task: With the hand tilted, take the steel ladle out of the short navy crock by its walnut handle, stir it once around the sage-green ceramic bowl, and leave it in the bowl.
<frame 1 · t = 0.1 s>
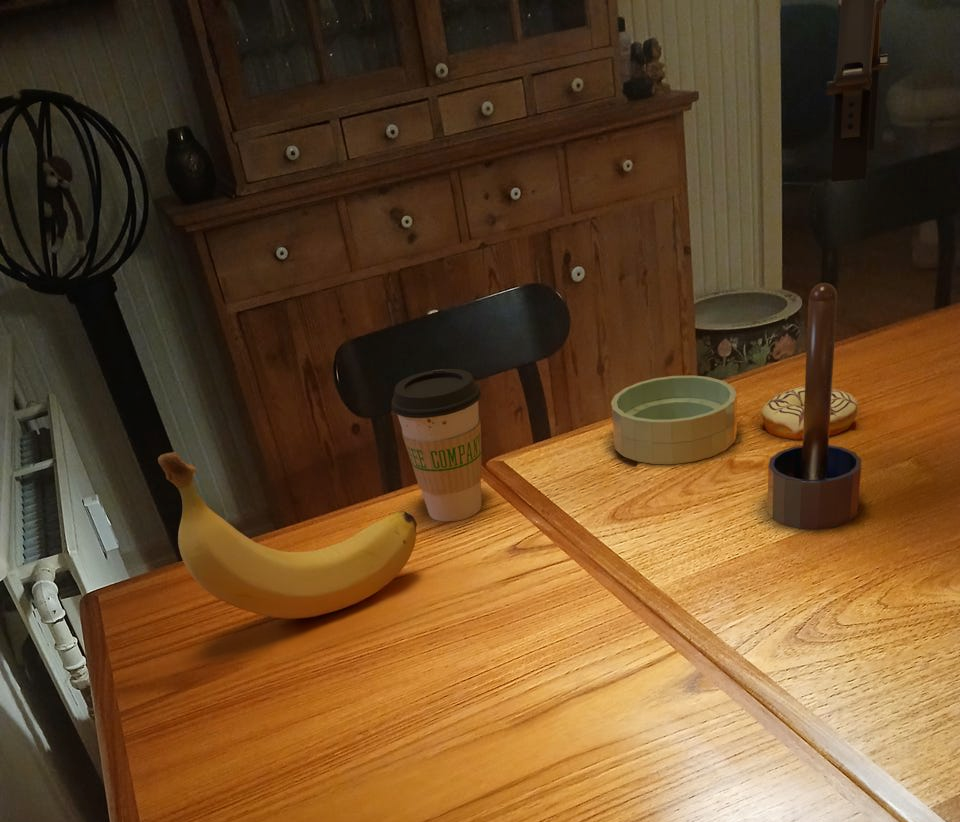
hand: (853, 164, 87), 31 cm above the table, tool pointing down, fingers open, 13 cm apart
crock: (811, 516, 100), on the table
ladle: (812, 509, 99), point 1 cm above the table, touching crock
decorated donut: (807, 429, 118), on the table
coffee cup: (455, 510, 113), on the table
banana: (324, 610, 99), on the table
bowl: (674, 444, 119), on the table
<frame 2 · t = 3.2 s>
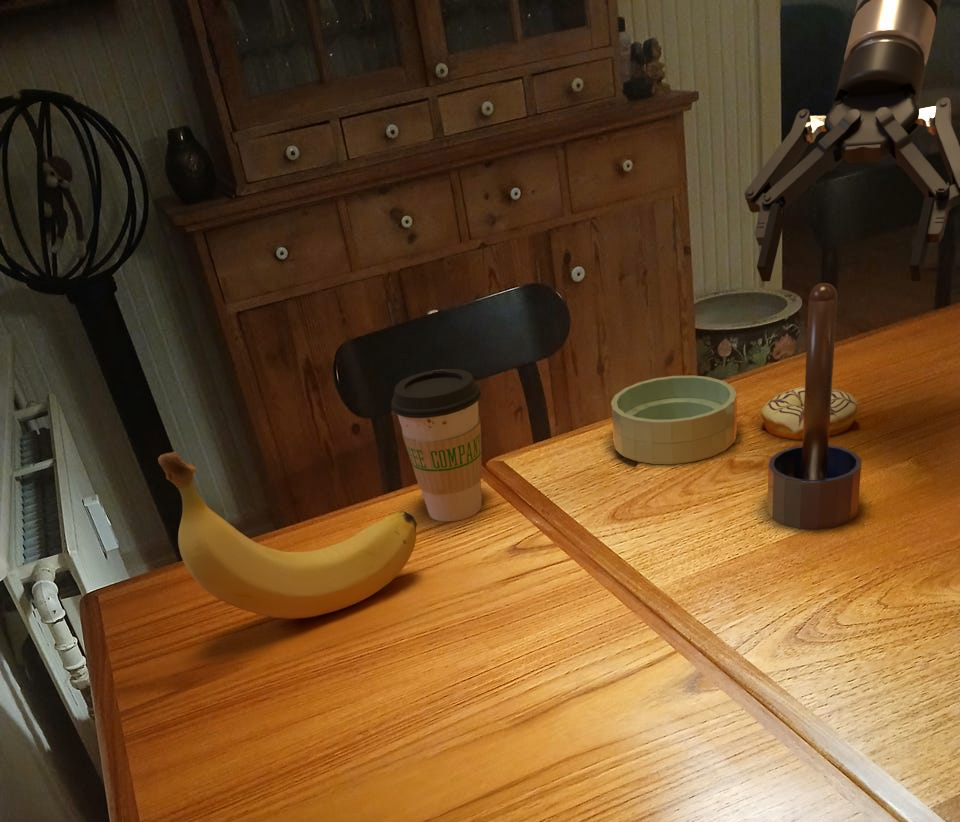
hand: (836, 274, 91), 22 cm above the table, tool tilted 45°, fingers open, 13 cm apart
nothing on the table moved.
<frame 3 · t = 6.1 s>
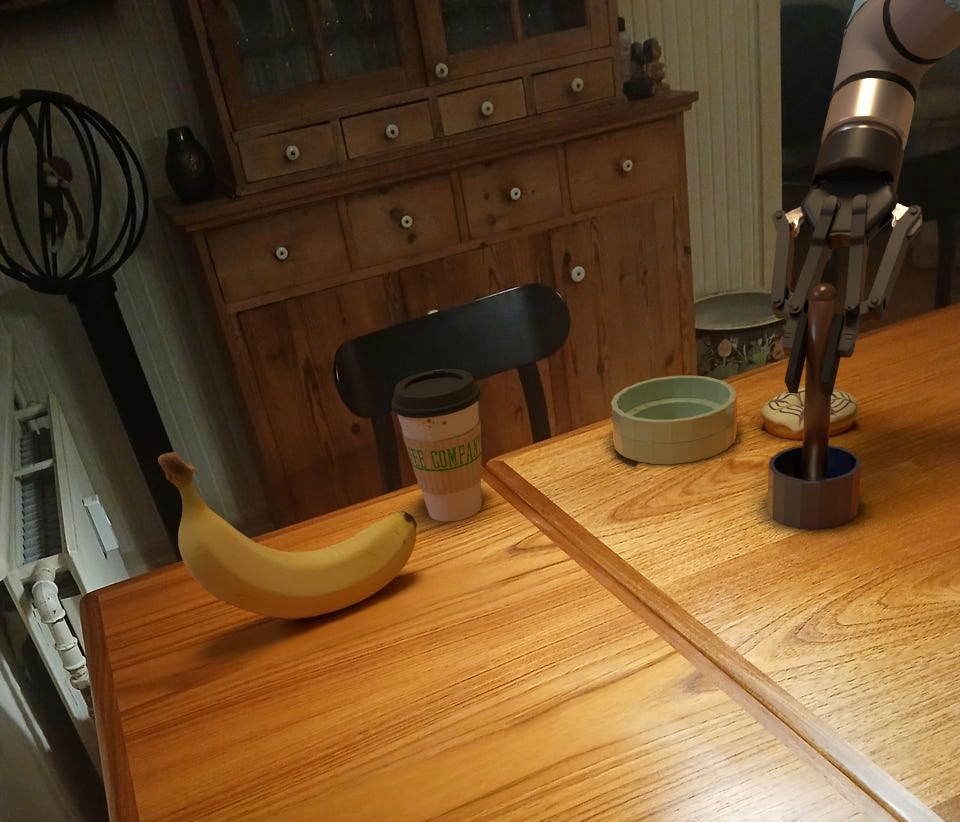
hand: (808, 387, 89), 15 cm above the table, tool tilted 45°, fingers closed on ladle, 2 cm apart
ladle: (812, 509, 99), point 1 cm above the table, touching crock, gripper
everything else where it was.
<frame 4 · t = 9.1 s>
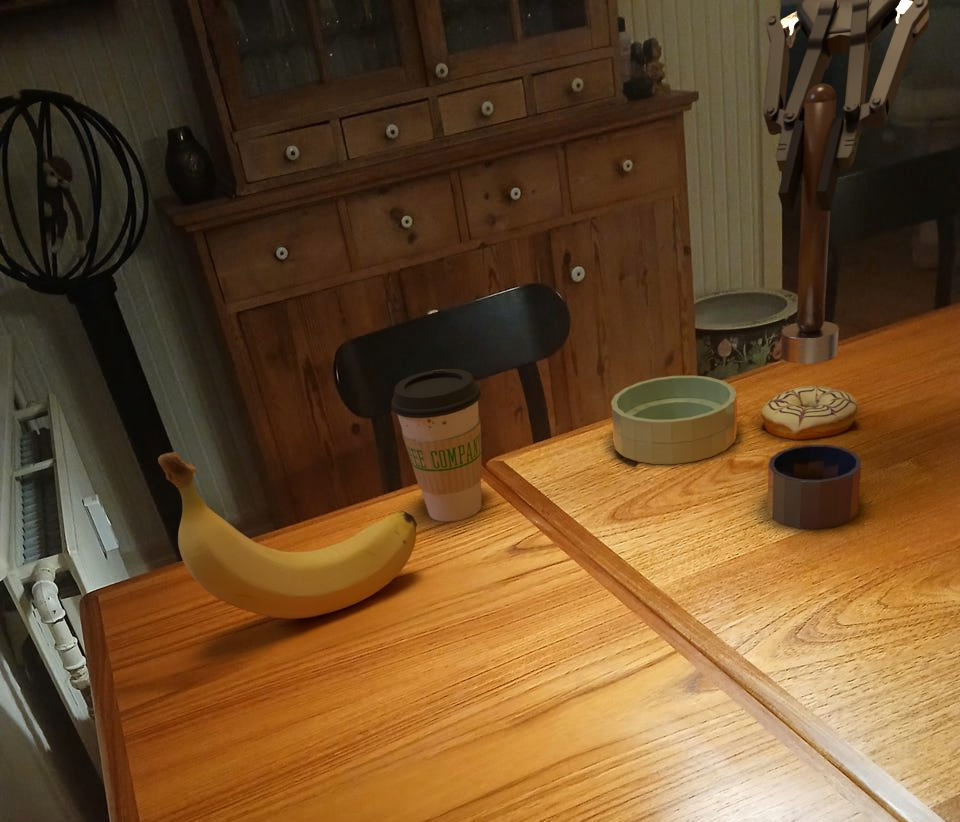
hand: (804, 201, 81), 31 cm above the table, tool tilted 45°, fingers closed on ladle, 2 cm apart
ladle: (808, 354, 92), point 16 cm above the table, touching gripper
everything else where it was.
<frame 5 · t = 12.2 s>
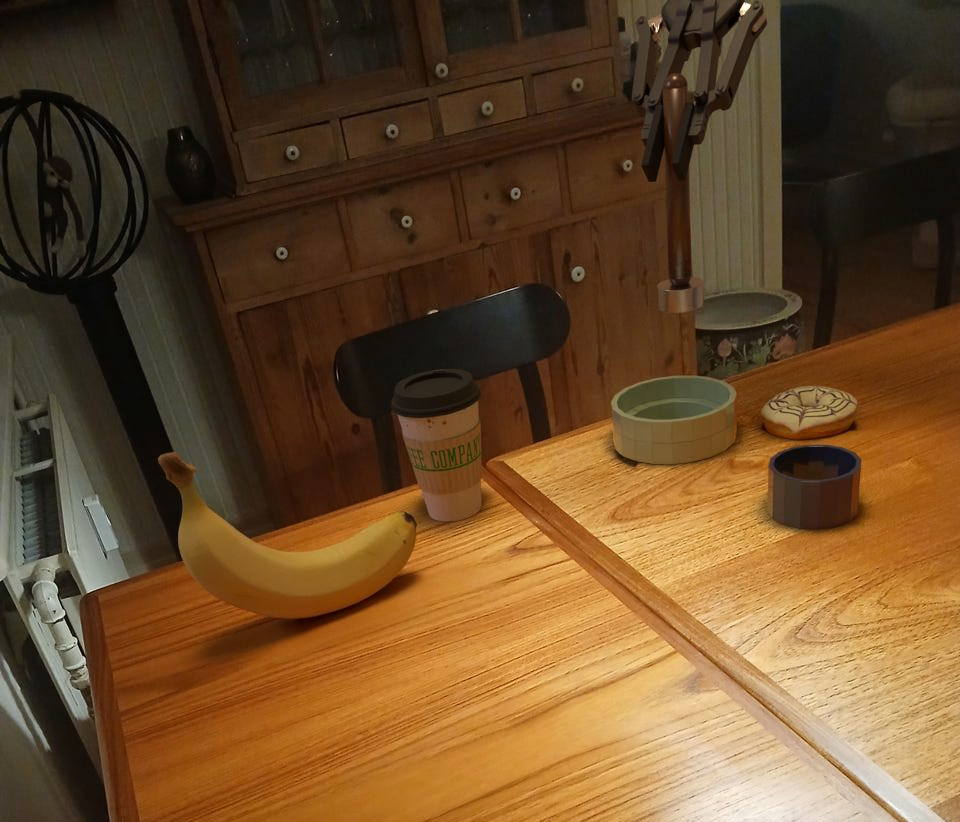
hand: (663, 172, 97), 31 cm above the table, tool tilted 45°, fingers closed on ladle, 2 cm apart
ladle: (680, 305, 108), point 17 cm above the table, touching gripper
everything else where it was.
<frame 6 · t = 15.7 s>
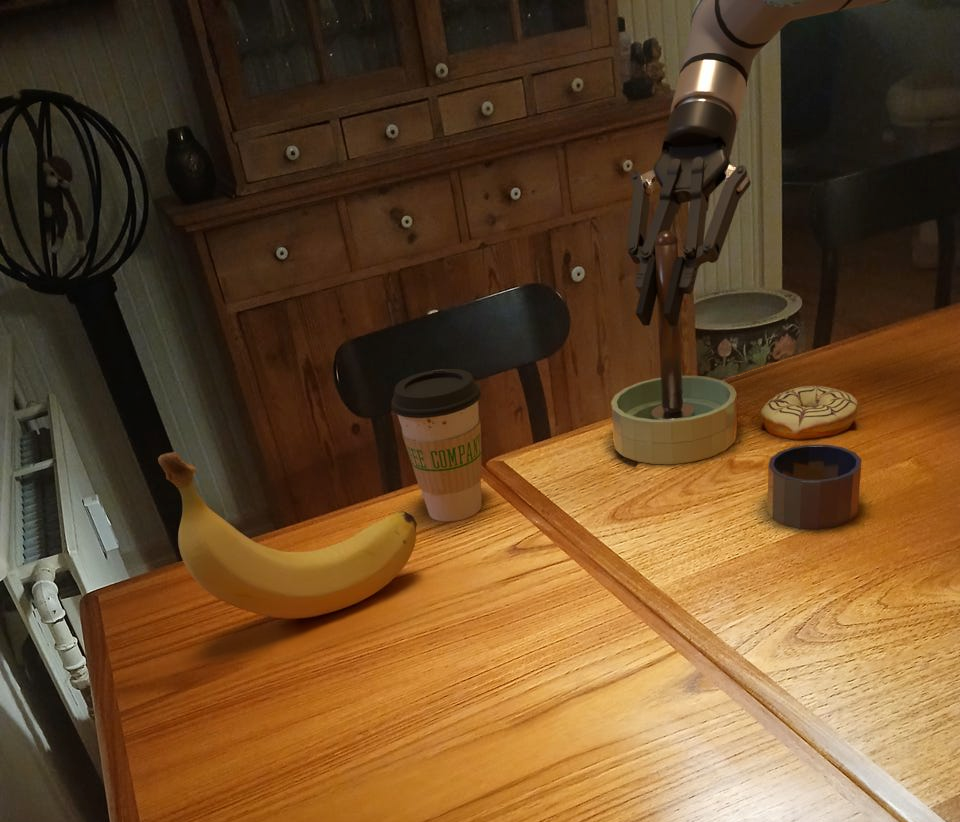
hand: (656, 319, 106), 17 cm above the table, tool tilted 45°, fingers closed on ladle, 2 cm apart
ladle: (673, 429, 116), point 3 cm above the table, touching gripper
everything else where it was.
when the fingers open (15 cm above the table, at t = 18.3 s): ladle stays where it is, resting on bowl.
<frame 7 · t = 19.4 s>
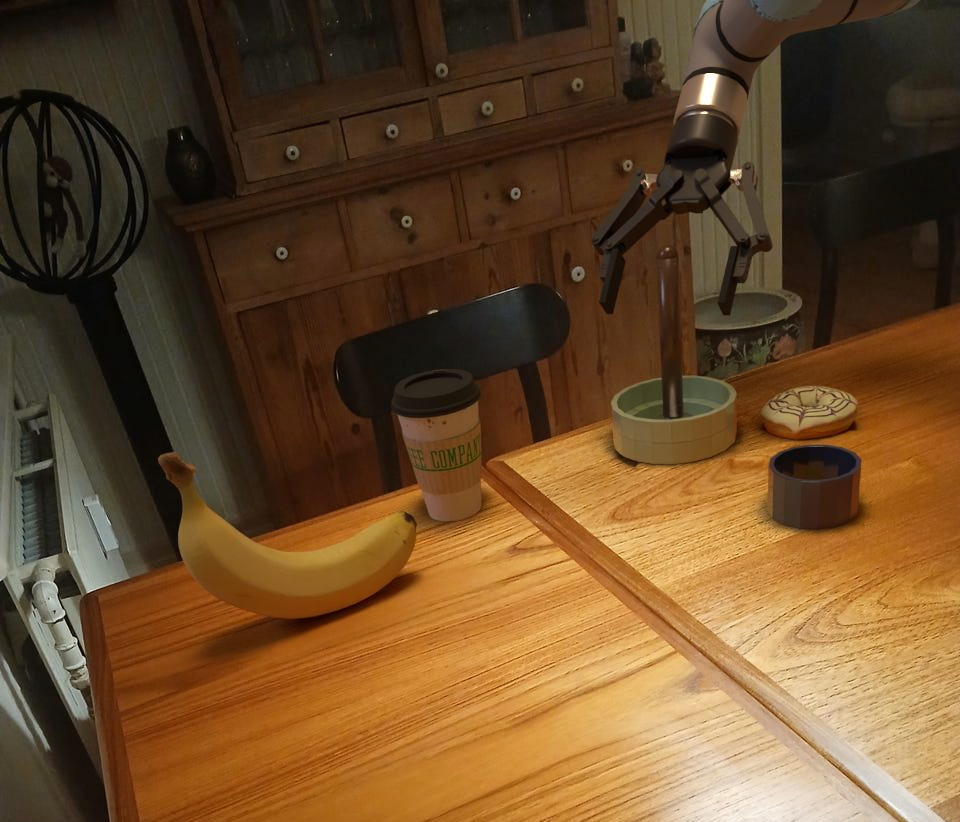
hand: (663, 309, 108), 17 cm above the table, tool tilted 45°, fingers open, 13 cm apart
ladle: (674, 438, 119), point 1 cm above the table, touching bowl
everything else where it was.
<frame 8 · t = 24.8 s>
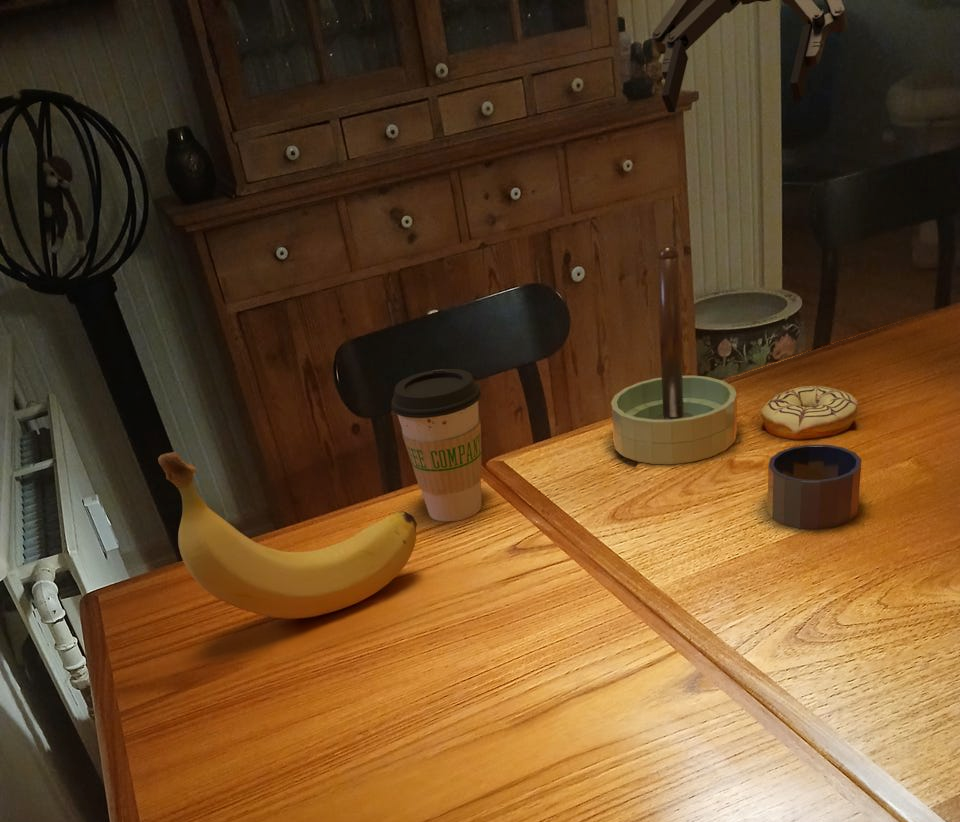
hand: (729, 98, 103), 36 cm above the table, tool tilted 45°, fingers open, 13 cm apart
nothing on the table moved.
at the end: ladle inside the target area in the bowl (0.1 cm from its centre), point 0.8 cm above the bowl's base; the gripper is holding nothing; ladle moved 24.5 cm from its start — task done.
